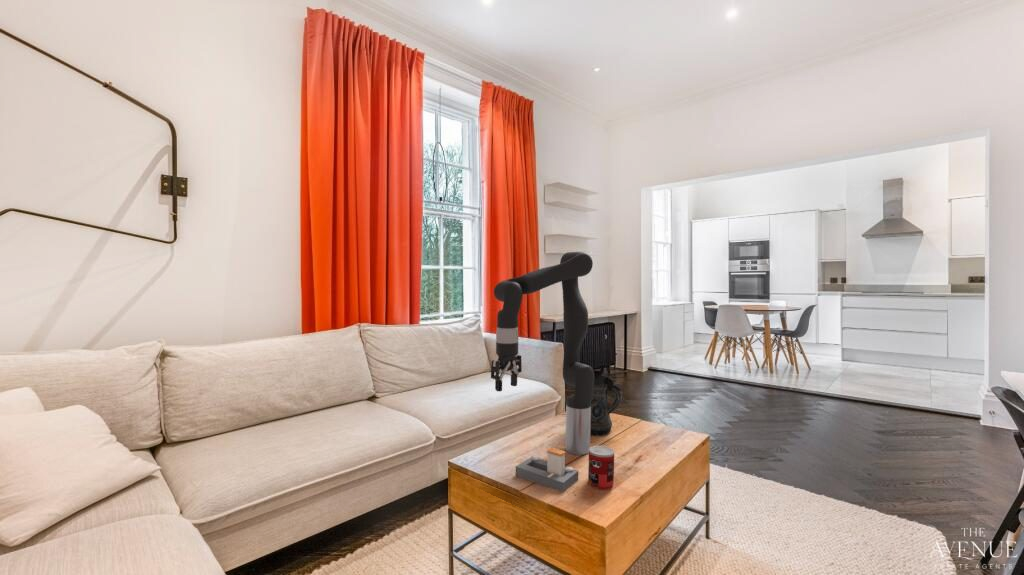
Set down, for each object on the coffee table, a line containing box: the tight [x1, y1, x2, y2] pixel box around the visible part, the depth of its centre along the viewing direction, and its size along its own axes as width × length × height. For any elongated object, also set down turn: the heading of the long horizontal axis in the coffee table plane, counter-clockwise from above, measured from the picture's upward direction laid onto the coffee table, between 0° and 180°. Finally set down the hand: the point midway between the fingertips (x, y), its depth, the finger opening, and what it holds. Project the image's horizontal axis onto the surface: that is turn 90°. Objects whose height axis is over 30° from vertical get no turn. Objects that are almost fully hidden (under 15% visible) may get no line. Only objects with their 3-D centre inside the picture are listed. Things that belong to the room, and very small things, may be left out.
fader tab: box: [546, 447, 566, 477], centre depth 139 cm, size 3×5×10 cm, turn 54°
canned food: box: [587, 445, 615, 490], centre depth 138 cm, size 8×8×11 cm
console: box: [515, 455, 579, 493], centre depth 142 cm, size 10×18×4 cm, turn 54°
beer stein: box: [590, 370, 623, 437], centre depth 186 cm, size 16×19×25 cm
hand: (506, 388), depth 146 cm, fingers open, 8 cm apart
